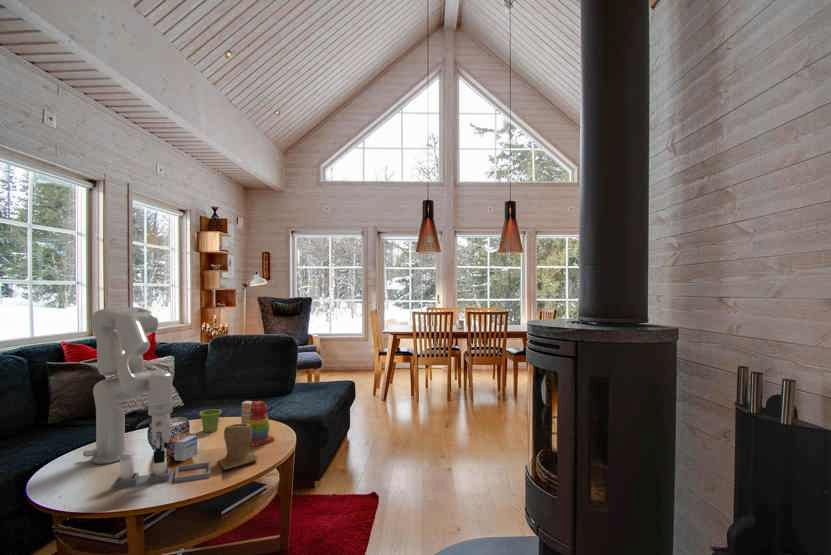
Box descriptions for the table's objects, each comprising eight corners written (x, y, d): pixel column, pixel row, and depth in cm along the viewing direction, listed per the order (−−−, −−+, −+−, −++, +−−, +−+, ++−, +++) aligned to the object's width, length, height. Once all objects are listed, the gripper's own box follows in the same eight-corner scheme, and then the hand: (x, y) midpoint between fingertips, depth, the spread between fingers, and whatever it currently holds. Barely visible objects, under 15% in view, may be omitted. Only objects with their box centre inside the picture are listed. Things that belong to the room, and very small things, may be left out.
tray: (174, 486, 162) (174, 478, 162) (177, 474, 172) (177, 466, 172) (209, 481, 166) (209, 472, 166) (210, 469, 177) (210, 461, 177)
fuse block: (110, 495, 156) (110, 484, 156) (116, 483, 165) (116, 473, 165) (171, 486, 162) (171, 476, 162) (174, 475, 172) (174, 465, 172)
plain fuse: (119, 486, 159) (119, 456, 159) (121, 481, 163) (121, 452, 163) (132, 484, 161) (132, 454, 161) (134, 479, 164) (134, 450, 164)
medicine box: (184, 465, 181) (184, 442, 181) (174, 464, 182) (174, 441, 182) (197, 457, 189) (197, 435, 189) (187, 456, 190) (187, 435, 190)
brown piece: (245, 454, 192) (245, 417, 192) (261, 462, 184) (262, 423, 184) (209, 466, 180) (209, 426, 180) (224, 474, 173) (225, 433, 173)
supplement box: (240, 430, 223) (240, 402, 223) (246, 427, 227) (246, 400, 227) (257, 431, 221) (257, 403, 221) (262, 428, 226) (262, 401, 226)
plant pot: (225, 430, 224) (225, 411, 224) (205, 435, 216) (205, 416, 216) (214, 426, 230) (214, 408, 230) (195, 431, 222) (195, 412, 222)
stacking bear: (276, 440, 210) (276, 399, 210) (260, 447, 201) (260, 405, 201) (257, 436, 214) (257, 397, 214) (240, 443, 205) (240, 402, 205)
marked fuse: (152, 481, 163) (152, 452, 163) (154, 477, 167) (154, 448, 167) (165, 479, 164) (166, 450, 164) (167, 475, 168) (167, 447, 168)
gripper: (169, 413, 159) (170, 464, 159) (174, 402, 175) (175, 448, 175) (144, 416, 156) (144, 468, 156) (151, 404, 172) (152, 451, 172)
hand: (160, 457), depth 165 cm, fingers open, 9 cm apart
